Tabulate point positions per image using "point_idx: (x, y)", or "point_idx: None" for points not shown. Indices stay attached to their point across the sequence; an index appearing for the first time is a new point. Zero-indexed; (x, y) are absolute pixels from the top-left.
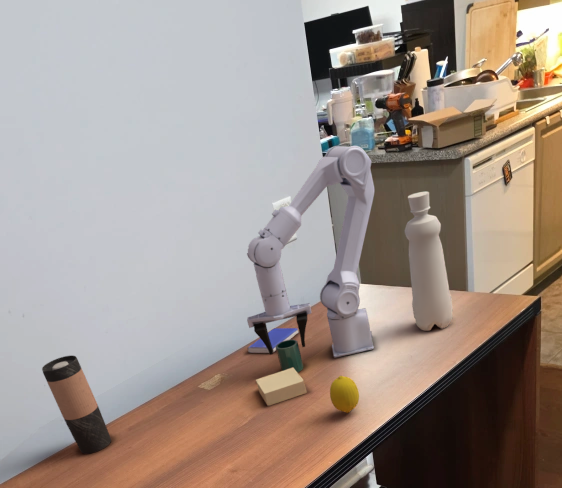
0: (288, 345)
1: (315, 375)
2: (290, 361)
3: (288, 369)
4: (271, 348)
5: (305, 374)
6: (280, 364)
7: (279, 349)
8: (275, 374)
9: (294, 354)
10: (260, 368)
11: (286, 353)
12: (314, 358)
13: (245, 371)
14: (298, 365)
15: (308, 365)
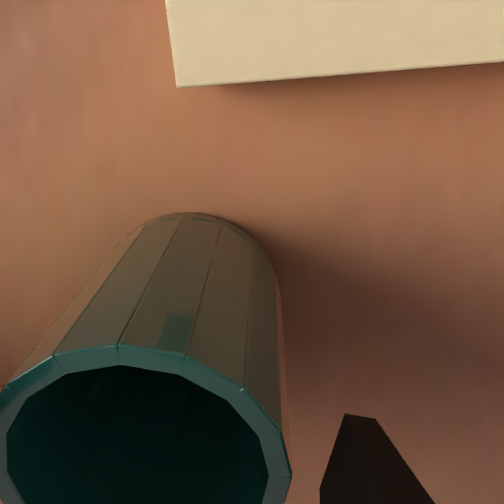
0: (134, 500)
1: (16, 36)
2: (181, 258)
3: (237, 63)
4: (352, 481)
5: (104, 129)
6: (281, 327)
7: (257, 396)
8: (416, 21)
9: (102, 291)
10: None
11: (185, 311)
12: None
13: (501, 489)
14: (128, 242)
15: (66, 288)
